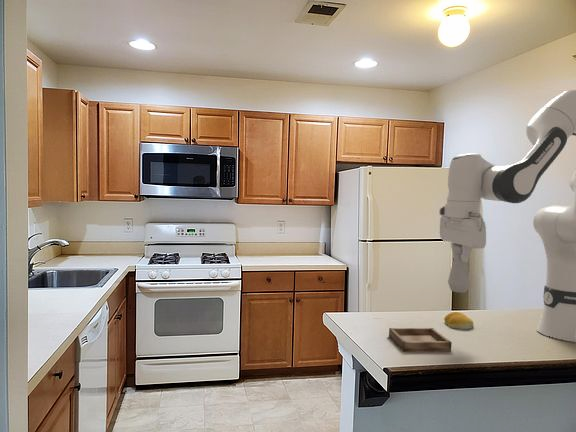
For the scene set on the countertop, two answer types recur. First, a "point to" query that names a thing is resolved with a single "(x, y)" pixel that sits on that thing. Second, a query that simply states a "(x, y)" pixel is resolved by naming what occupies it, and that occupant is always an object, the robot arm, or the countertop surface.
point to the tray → (419, 339)
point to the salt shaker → (459, 272)
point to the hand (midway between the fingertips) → (460, 260)
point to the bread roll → (458, 321)
